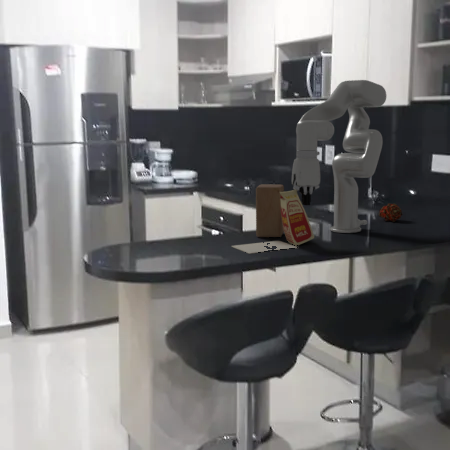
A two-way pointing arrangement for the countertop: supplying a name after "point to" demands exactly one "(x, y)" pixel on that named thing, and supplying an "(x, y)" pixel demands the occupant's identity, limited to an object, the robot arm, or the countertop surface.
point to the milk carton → (295, 219)
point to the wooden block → (269, 210)
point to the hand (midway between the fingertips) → (306, 204)
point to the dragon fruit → (390, 212)
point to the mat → (262, 246)
